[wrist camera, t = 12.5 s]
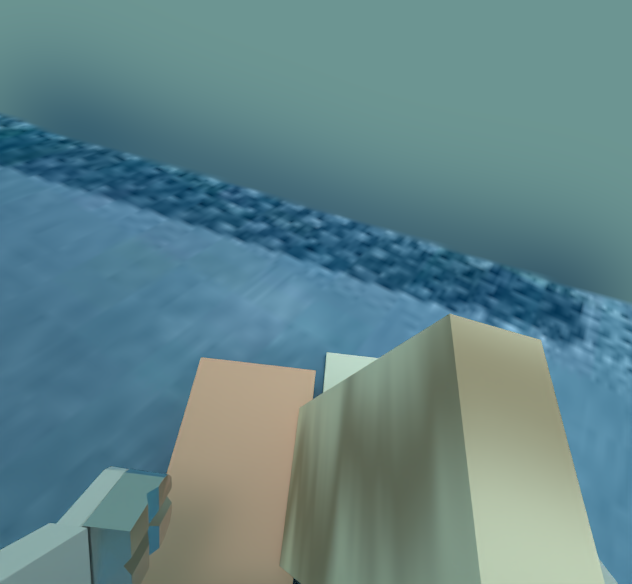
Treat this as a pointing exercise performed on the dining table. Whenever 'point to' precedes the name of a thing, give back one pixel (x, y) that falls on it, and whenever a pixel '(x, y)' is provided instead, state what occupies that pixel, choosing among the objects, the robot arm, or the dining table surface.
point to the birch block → (439, 470)
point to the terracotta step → (232, 476)
